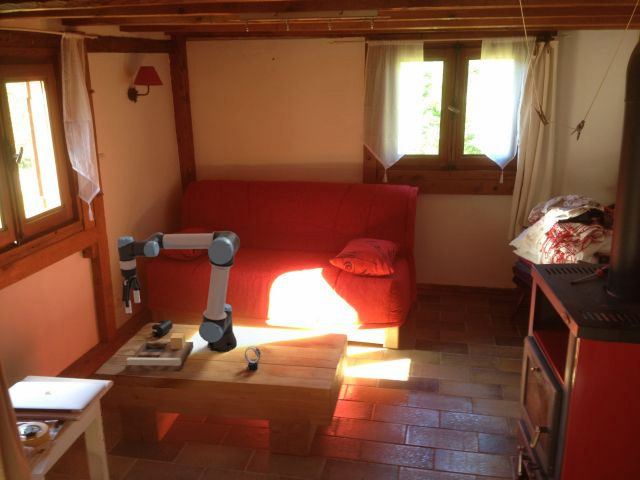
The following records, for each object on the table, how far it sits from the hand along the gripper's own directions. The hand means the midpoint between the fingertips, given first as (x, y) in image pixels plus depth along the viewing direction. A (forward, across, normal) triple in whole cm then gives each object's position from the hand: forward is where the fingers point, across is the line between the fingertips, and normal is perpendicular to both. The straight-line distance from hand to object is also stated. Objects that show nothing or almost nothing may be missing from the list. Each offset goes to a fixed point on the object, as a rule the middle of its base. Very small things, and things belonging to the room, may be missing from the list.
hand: (133, 307), depth 298 cm
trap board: (+26, +5, +13) cm, 30 cm away
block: (+23, -3, +20) cm, 31 cm away
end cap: (+26, -24, +6) cm, 36 cm away
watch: (+27, +15, +61) cm, 69 cm away
